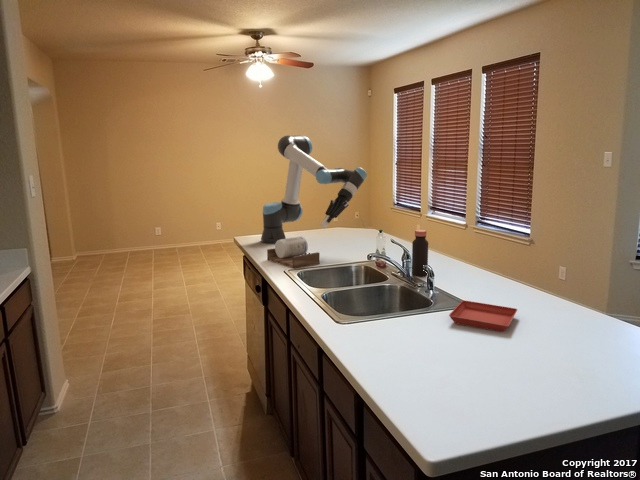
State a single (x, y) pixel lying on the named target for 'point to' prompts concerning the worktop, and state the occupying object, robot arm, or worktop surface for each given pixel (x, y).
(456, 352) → the worktop surface
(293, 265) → the walnut tray
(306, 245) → the supplement tub
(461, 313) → the plant saucer
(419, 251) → the bottle
